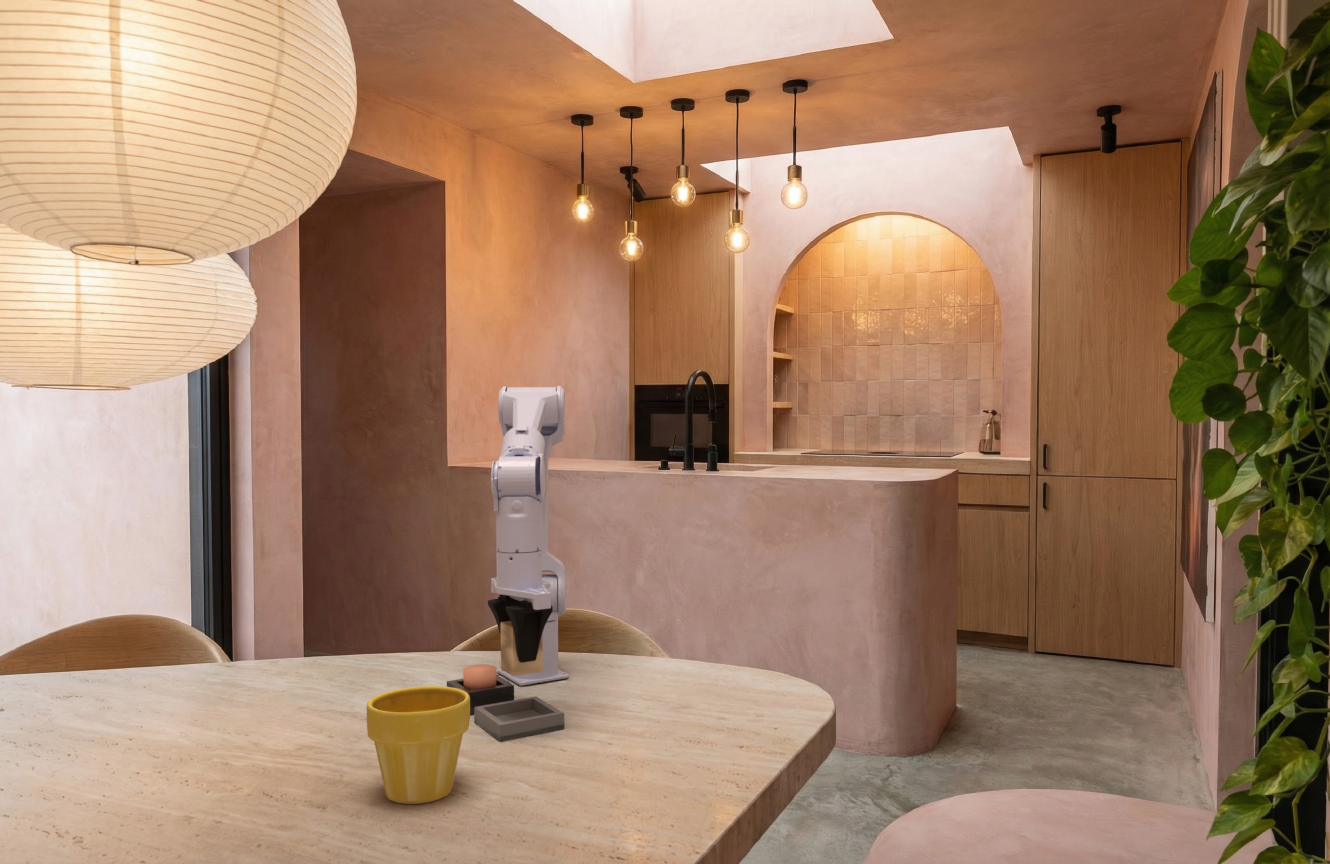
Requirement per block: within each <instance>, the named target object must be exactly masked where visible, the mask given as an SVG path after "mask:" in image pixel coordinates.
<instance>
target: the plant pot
mask: <svg viewBox="0 0 1330 864" xmlns="http://www.w3.org/2000/svg"><path fill="white" fill-rule="evenodd" d="M470 718H471V715H470V696H469V695H468V693H467V692H465V691H463V690H460V689H457V688H452V687H447V686H442V685H441V686H440V685H426V686H425V685H423V686H421V685H420V686H411V687H405V688H404V687H403V688H397V689H393V690H389V691H386V692H383V693H380V694H377V695H375V696H373V697H371V698H370V699H369V700H368V701H367V703H366V731H367V732H366V733H367V737H368V738H369V739H370V740H371V741H372V742H374V747H375V751H376V756H377V760H378V765H379V769H380V774H381V778H382V783H383V788H384V791H385V796H386V798H388V799H389V801H392V802H395V803H398V804H402V805H403V804H405V805H418V804H420V805H421V804H426V803H430V802H435V801H437V800H441V799H442V798H444V797H446V796H448V795H449V794H450V793H451V792H452V789H453V786H454V779H455V775H456V774H455V773H456V769H457V766H458V765H457V764H458V760H459V756H460V749H461V747H462V741H463V737H464V734H465V733H467V731H468V730H469V728H470V721H471V719H470Z"/></svg>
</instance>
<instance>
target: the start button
mask: <svg viewBox="0 0 1330 864" xmlns="http://www.w3.org/2000/svg"><path fill="white" fill-rule="evenodd" d="M462 671H463V679H464V688H466V689H467V690H475V689H481V688H487V687H493V686H496V675H497V666H495V665H494V664H493V665H492V664H483V663H482V664H473V665H469V666H466V667H464V668H463V670H462Z"/></svg>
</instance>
